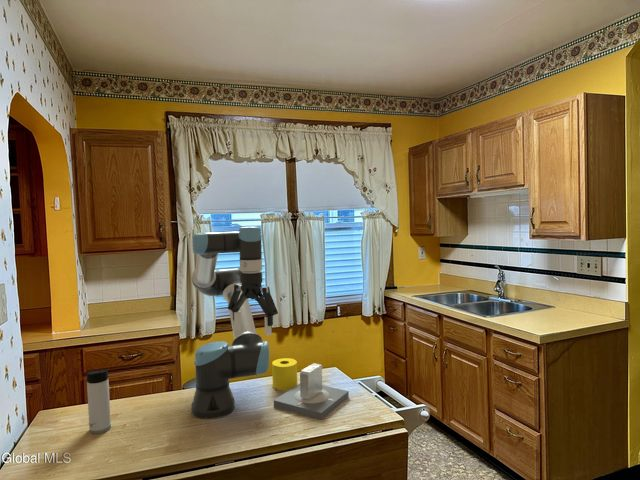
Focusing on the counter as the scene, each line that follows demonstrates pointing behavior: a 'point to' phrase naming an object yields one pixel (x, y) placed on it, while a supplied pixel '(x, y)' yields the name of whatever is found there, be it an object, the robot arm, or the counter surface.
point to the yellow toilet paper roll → (284, 373)
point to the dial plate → (312, 402)
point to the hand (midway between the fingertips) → (252, 332)
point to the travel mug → (98, 401)
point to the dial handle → (311, 381)
